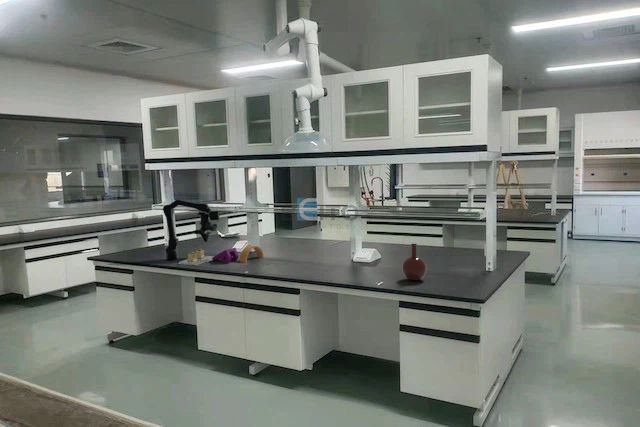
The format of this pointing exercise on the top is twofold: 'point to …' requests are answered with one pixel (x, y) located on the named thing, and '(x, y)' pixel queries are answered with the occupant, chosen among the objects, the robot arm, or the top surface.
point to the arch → (247, 249)
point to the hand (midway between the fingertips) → (206, 242)
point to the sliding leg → (200, 253)
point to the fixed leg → (192, 256)
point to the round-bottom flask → (414, 266)
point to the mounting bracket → (227, 256)
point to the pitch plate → (197, 261)
